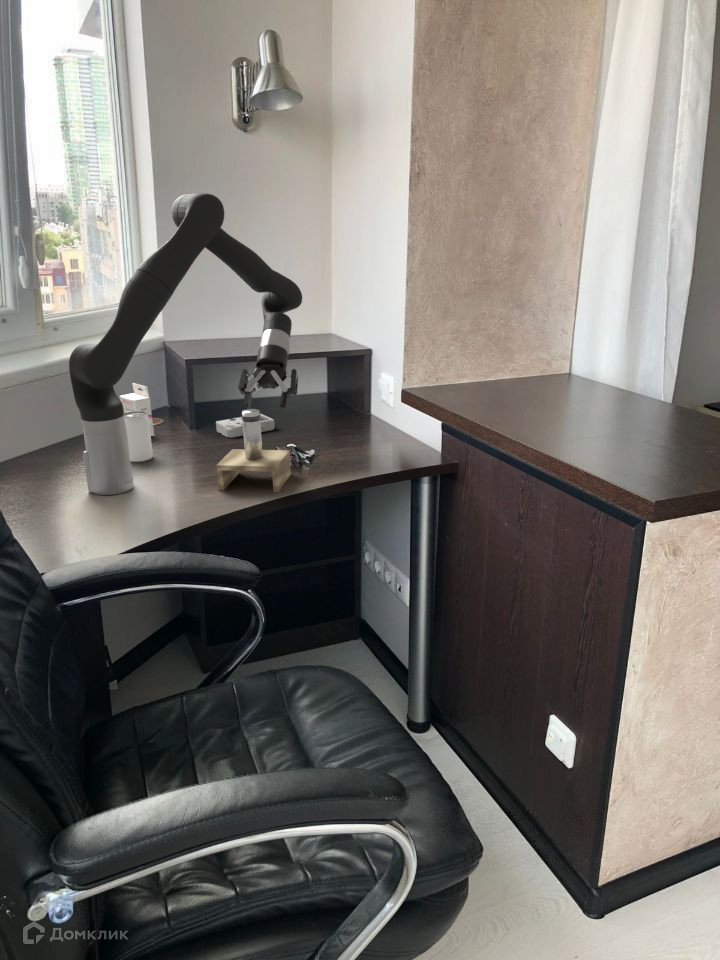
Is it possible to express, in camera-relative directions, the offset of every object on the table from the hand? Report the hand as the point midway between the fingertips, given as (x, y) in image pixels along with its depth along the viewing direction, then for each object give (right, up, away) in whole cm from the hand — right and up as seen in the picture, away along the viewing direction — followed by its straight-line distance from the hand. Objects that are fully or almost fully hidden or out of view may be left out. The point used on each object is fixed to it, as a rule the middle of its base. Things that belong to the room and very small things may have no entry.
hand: (264, 408), depth 182 cm
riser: (-1, -18, -6) cm, 19 cm away
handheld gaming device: (-10, -4, +36) cm, 37 cm away
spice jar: (-2, -12, -8) cm, 14 cm away
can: (-34, -12, +13) cm, 38 cm away
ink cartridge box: (-40, -5, +33) cm, 52 cm away
